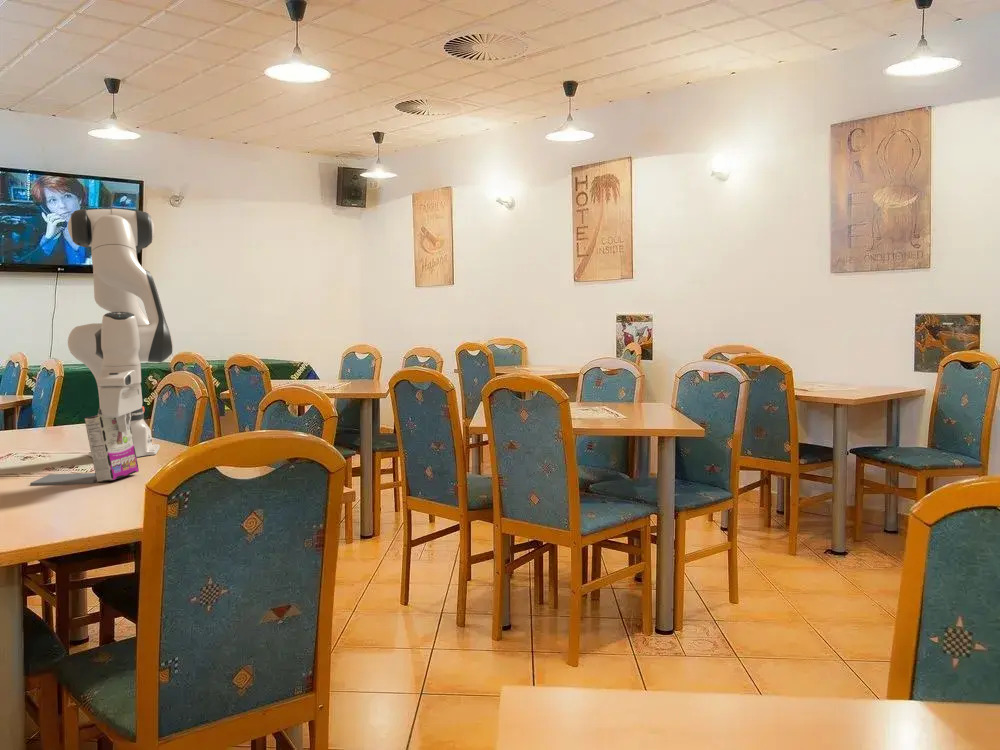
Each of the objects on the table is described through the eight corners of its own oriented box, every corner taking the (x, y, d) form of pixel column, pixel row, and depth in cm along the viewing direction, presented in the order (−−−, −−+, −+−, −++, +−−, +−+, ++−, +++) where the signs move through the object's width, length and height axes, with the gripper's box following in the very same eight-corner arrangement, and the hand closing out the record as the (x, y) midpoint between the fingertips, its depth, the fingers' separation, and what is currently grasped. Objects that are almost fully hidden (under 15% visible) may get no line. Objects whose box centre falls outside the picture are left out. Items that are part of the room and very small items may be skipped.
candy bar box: (122, 474, 214) (111, 412, 213) (139, 471, 213) (128, 409, 212) (94, 482, 203) (83, 417, 202) (112, 480, 202) (101, 414, 201)
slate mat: (49, 476, 211) (49, 474, 211) (108, 474, 213) (108, 472, 213) (30, 485, 200) (30, 482, 200) (92, 483, 202) (92, 481, 202)
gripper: (122, 373, 216) (124, 425, 217) (94, 380, 196) (96, 437, 197) (147, 373, 217) (149, 425, 218) (121, 379, 197) (124, 436, 198)
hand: (124, 431), depth 207 cm, fingers closed
